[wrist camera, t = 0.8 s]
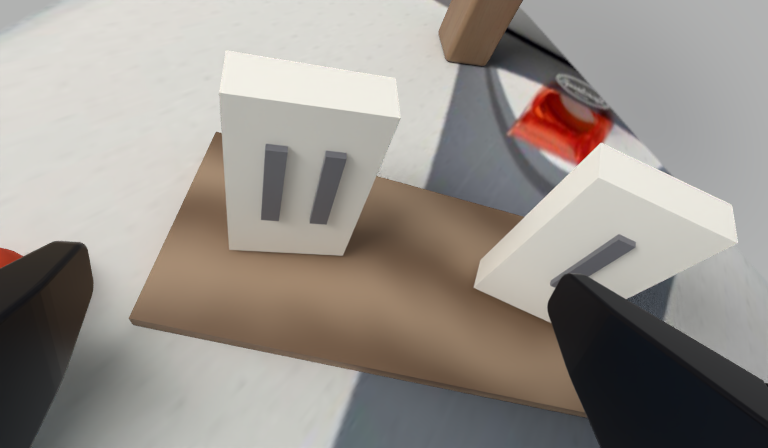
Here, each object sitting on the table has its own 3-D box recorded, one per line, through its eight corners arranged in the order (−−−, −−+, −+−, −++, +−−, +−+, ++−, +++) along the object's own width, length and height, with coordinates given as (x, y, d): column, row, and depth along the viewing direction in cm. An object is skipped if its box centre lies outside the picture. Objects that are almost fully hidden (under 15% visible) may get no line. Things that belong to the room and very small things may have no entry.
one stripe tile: (564, 334, 26) (739, 249, 17) (472, 292, 26) (597, 183, 16) (568, 300, 27) (731, 204, 18) (480, 260, 27) (600, 142, 18)
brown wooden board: (608, 422, 25) (621, 419, 24) (133, 324, 21) (128, 318, 20) (584, 242, 32) (593, 236, 31) (216, 142, 28) (216, 131, 27)
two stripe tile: (342, 260, 24) (401, 124, 15) (228, 254, 23) (218, 99, 14) (341, 224, 26) (396, 78, 16) (232, 216, 24) (226, 50, 15)
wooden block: (475, 38, 41) (520, -48, 34) (485, 68, 39) (535, -17, 32) (436, 32, 40) (474, -59, 33) (444, 62, 38) (487, -27, 31)
